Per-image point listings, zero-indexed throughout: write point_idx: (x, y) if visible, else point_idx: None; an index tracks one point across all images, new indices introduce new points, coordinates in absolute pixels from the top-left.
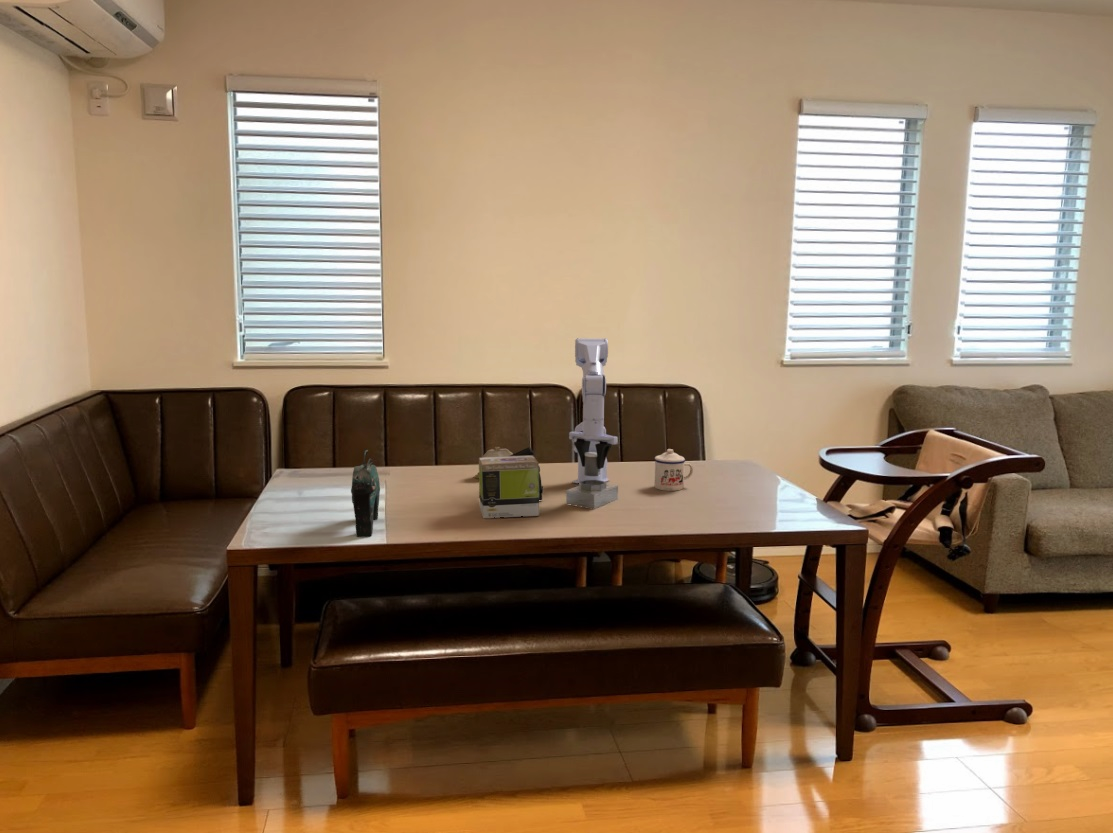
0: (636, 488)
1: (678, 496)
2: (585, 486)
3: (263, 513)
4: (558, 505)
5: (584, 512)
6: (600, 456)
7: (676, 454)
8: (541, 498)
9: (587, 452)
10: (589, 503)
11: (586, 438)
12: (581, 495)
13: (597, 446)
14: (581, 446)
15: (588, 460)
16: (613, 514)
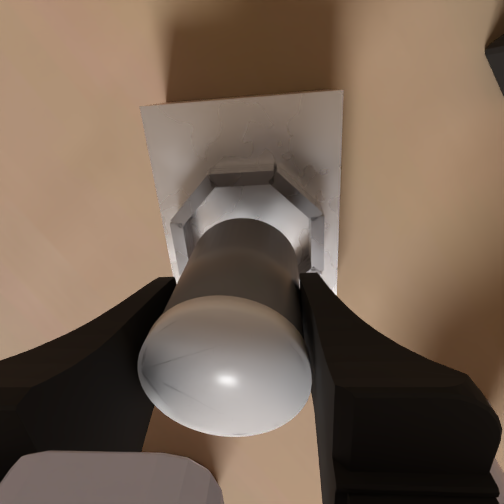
0: (245, 440)
1: None
2: (244, 169)
3: None
4: (355, 41)
5: (159, 9)
6: (85, 326)
7: None
8: (493, 46)
9: (299, 389)
10: (186, 101)
11: (60, 461)
12: (231, 98)
13: (1, 384)
14: (327, 376)
15: (225, 276)
16: (40, 81)
